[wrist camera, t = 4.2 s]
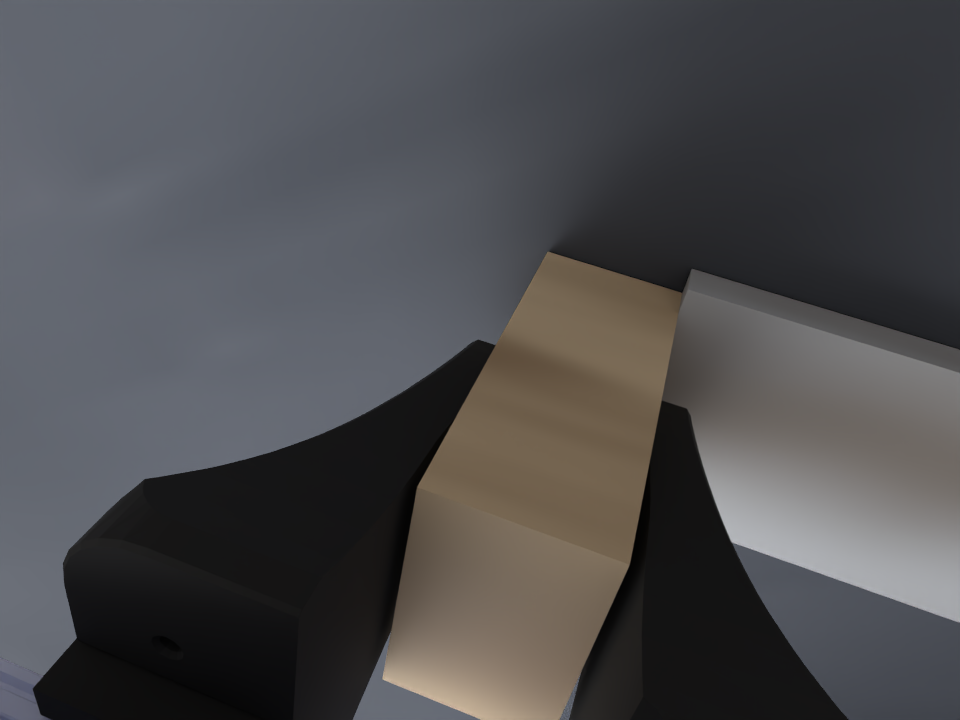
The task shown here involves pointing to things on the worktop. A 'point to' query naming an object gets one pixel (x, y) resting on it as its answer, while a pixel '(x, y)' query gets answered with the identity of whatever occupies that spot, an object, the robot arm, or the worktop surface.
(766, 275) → the worktop surface
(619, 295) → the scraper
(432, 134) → the worktop surface
